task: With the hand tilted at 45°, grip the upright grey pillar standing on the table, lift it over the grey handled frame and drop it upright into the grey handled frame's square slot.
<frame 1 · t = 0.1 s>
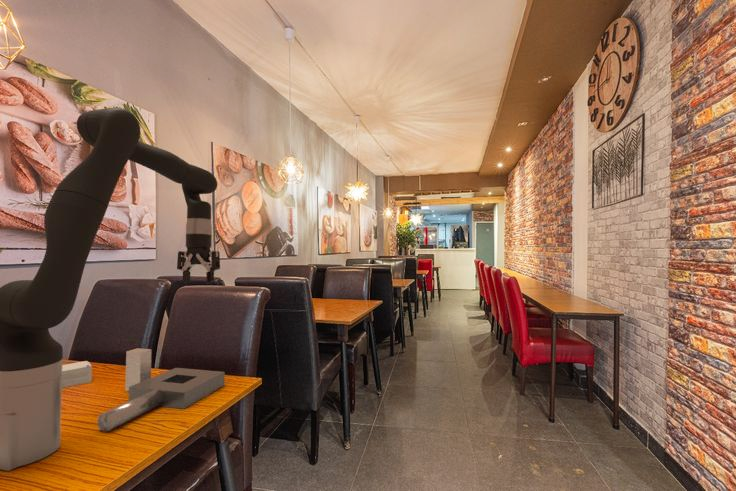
hand: (198, 283, 109), 29 cm above the table, tool pointing down, fingers open, 8 cm apart
upright grey pillar: (138, 389, 96), on the table
grey handled frame: (179, 393, 93), on the table
small box: (73, 383, 102), on the table
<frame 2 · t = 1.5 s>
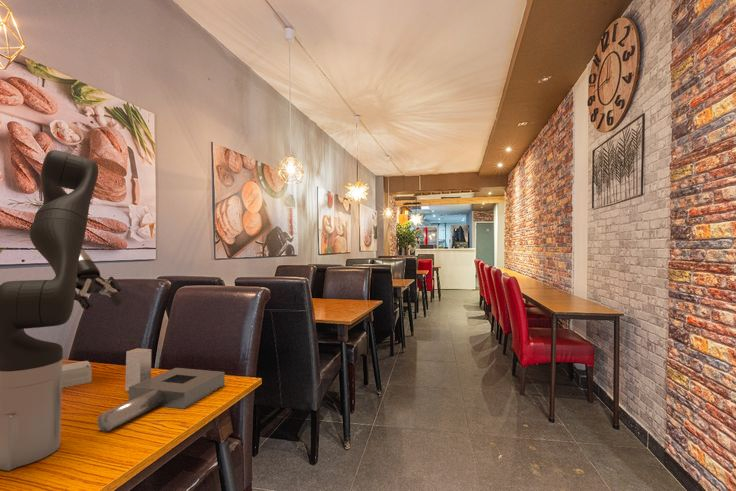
hand: (105, 306, 101), 23 cm above the table, tool tilted 45°, fingers open, 8 cm apart
nothing on the table moved.
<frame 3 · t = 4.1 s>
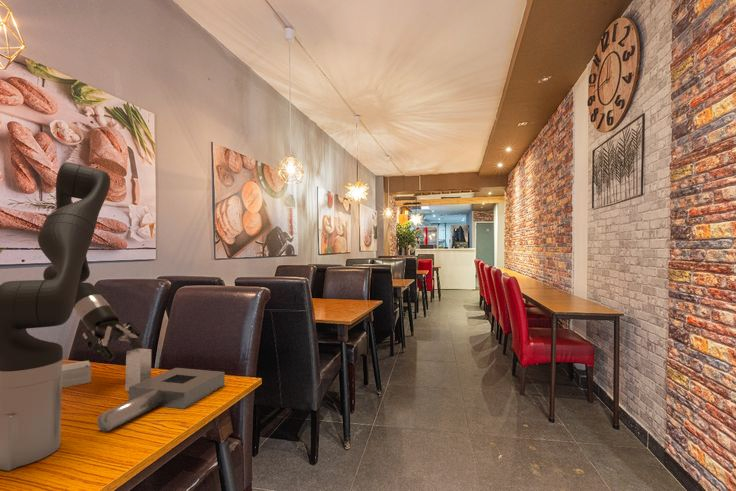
hand: (126, 354, 98), 10 cm above the table, tool tilted 45°, fingers open, 8 cm apart
nothing on the table moved.
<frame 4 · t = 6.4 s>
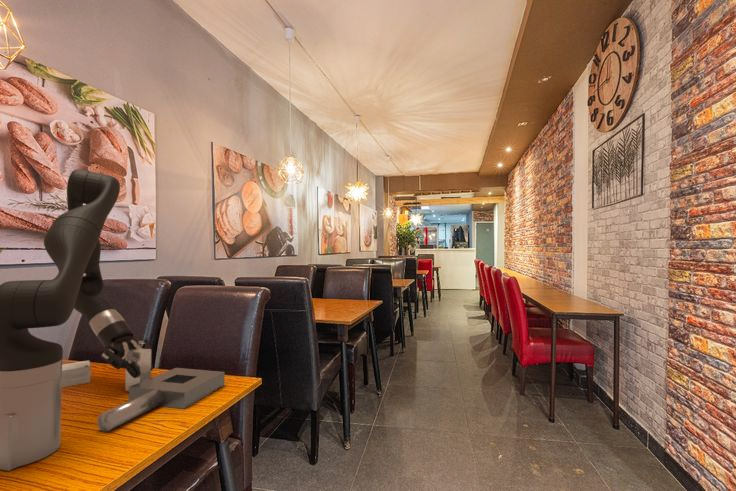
hand: (144, 373, 96), 5 cm above the table, tool tilted 45°, fingers closed on upright grey pillar, 3 cm apart
upright grey pillar: (138, 389, 96), on the table, touching gripper
everything else where it was.
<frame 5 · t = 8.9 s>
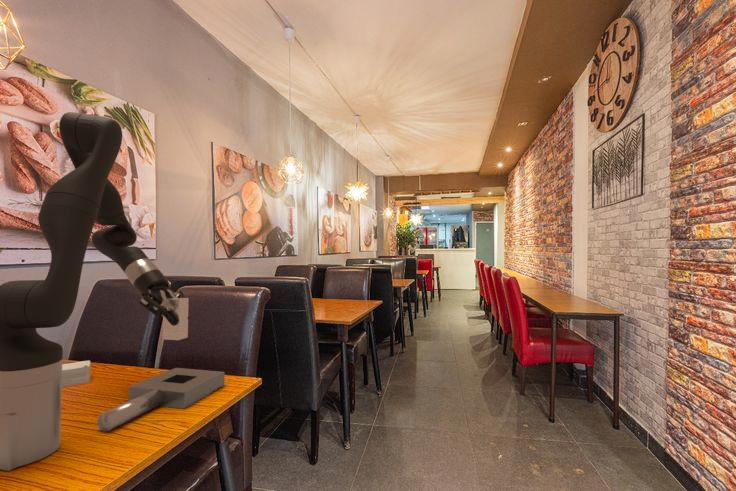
hand: (182, 321, 94), 20 cm above the table, tool tilted 45°, fingers closed on upright grey pillar, 3 cm apart
upright grey pillar: (175, 338, 94), point 15 cm above the table, touching gripper
everything else where it was.
when the fingers open (9 cm above the table, at t = 11.8 s): upright grey pillar drops 5 cm, resting in grey handled frame.
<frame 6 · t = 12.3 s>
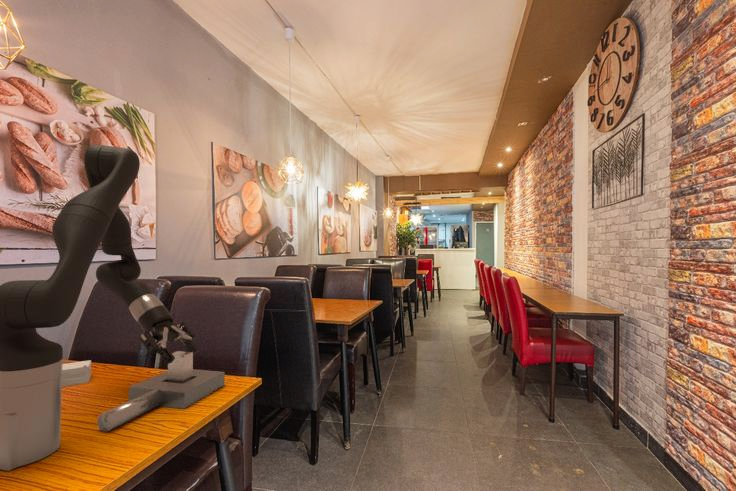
hand: (184, 356, 93), 10 cm above the table, tool tilted 45°, fingers open, 8 cm apart
upright grey pillar: (180, 393, 93), resting in grey handled frame
everything else where it was.
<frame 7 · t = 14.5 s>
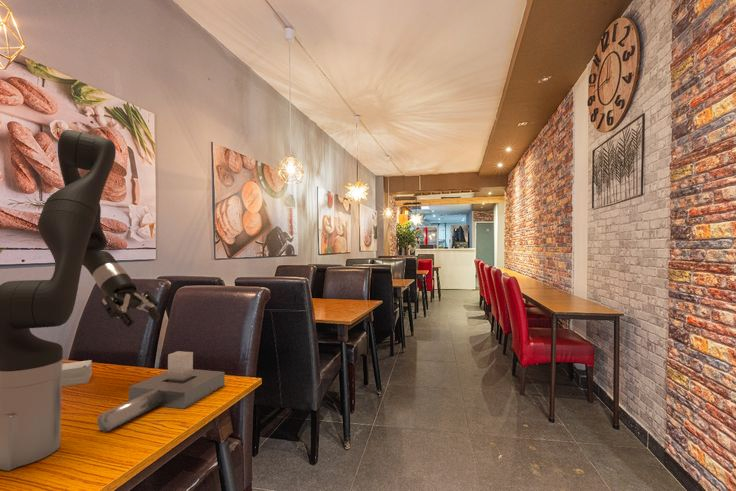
hand: (145, 322, 97), 19 cm above the table, tool tilted 45°, fingers open, 8 cm apart
nothing on the table moved.
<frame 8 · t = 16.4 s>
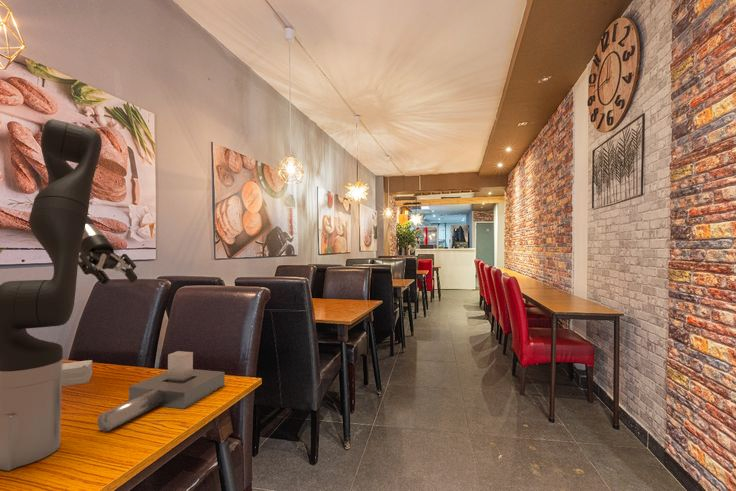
hand: (121, 281, 98), 31 cm above the table, tool tilted 45°, fingers open, 8 cm apart
at the end: upright grey pillar 0.2 cm off-centre on the grey handled frame, point 0.0 cm above the grey handled frame's base; upright grey pillar tilted 0°; the gripper is holding nothing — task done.
